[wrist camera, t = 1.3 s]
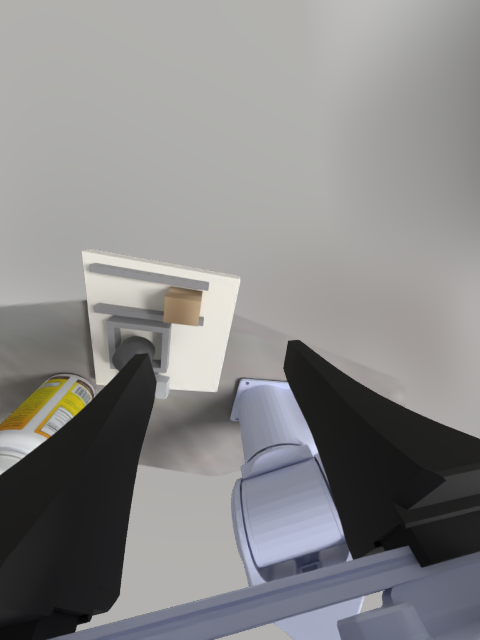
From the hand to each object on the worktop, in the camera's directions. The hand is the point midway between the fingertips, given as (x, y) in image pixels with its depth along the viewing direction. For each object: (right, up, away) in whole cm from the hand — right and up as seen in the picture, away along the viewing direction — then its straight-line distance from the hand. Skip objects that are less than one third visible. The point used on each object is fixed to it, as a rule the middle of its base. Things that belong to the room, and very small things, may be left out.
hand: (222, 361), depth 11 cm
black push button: (-9, -1, +10) cm, 13 cm away
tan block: (-4, +4, +10) cm, 11 cm away
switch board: (-8, +1, +12) cm, 14 cm away
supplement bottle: (-20, -6, +14) cm, 25 cm away
